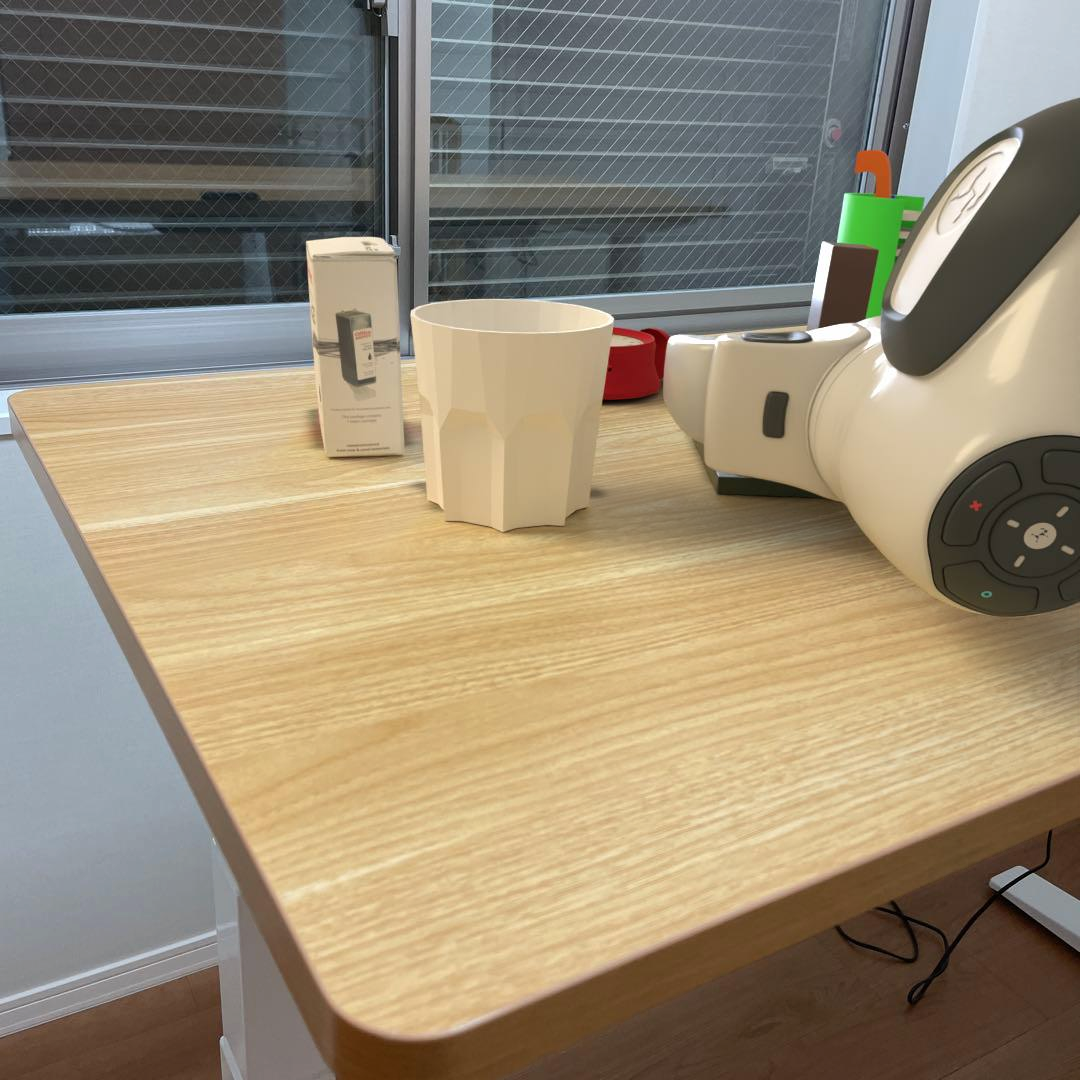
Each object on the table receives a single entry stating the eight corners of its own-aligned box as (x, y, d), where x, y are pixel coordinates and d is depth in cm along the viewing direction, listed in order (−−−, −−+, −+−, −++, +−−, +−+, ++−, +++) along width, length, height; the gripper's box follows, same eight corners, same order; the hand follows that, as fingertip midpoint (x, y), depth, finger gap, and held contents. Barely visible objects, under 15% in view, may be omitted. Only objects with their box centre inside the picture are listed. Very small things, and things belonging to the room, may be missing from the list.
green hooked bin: (909, 363, 94) (945, 153, 87) (819, 355, 96) (847, 149, 89) (905, 345, 102) (937, 152, 96) (821, 338, 104) (848, 148, 98)
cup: (375, 515, 52) (370, 318, 49) (468, 464, 61) (470, 293, 57) (556, 551, 48) (566, 341, 45) (628, 491, 57) (641, 311, 53)
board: (886, 443, 68) (889, 428, 68) (950, 503, 57) (953, 485, 57) (691, 435, 68) (692, 420, 68) (716, 493, 57) (718, 476, 57)
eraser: (766, 429, 66) (799, 235, 62) (828, 434, 66) (865, 241, 62) (794, 466, 59) (833, 249, 54) (863, 472, 59) (908, 256, 54)
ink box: (313, 421, 68) (304, 235, 64) (389, 419, 69) (386, 236, 65) (320, 460, 60) (311, 251, 56) (406, 457, 62) (404, 252, 57)
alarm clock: (496, 346, 75) (577, 278, 86) (503, 423, 79) (579, 348, 90) (630, 363, 71) (696, 290, 83) (631, 443, 75) (694, 362, 86)
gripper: (1133, 356, 47) (1010, 309, 60) (686, 337, 47) (660, 294, 60) (1100, 487, 49) (989, 414, 62) (675, 469, 50) (651, 400, 62)
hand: (824, 355), depth 61 cm, fingers closed on eraser, 3 cm apart
